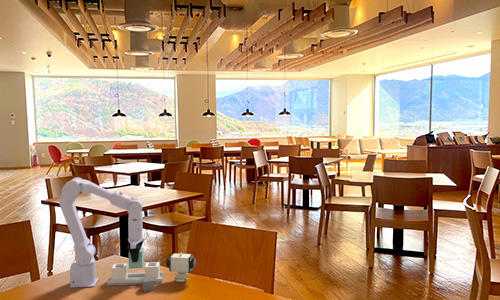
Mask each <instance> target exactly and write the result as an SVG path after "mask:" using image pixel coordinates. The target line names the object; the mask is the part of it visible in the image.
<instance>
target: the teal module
mask: <svg viewBox="0 0 500 300" xmlns="http://www.w3.org/2000/svg"><path fill="white" fill-rule="evenodd" d="M144 250H145V249H144V248H142V247H141V249H140V252H139V258H138V262H132V259H131V255H130V252H129V251H128V270H129V269H131V270H132V269H143V267H144V263H145V262H144V261H145V260H144V259H145V258H144V257H145V255H144V254H145V252H144Z"/></svg>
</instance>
